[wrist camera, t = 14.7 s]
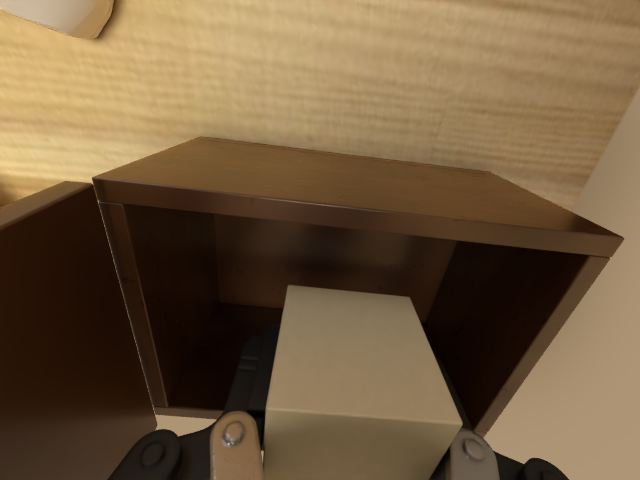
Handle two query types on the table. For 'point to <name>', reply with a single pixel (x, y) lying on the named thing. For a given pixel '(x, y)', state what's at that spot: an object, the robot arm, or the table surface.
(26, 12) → the computer mouse
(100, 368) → the lid
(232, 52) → the table surface
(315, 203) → the chest
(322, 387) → the block
